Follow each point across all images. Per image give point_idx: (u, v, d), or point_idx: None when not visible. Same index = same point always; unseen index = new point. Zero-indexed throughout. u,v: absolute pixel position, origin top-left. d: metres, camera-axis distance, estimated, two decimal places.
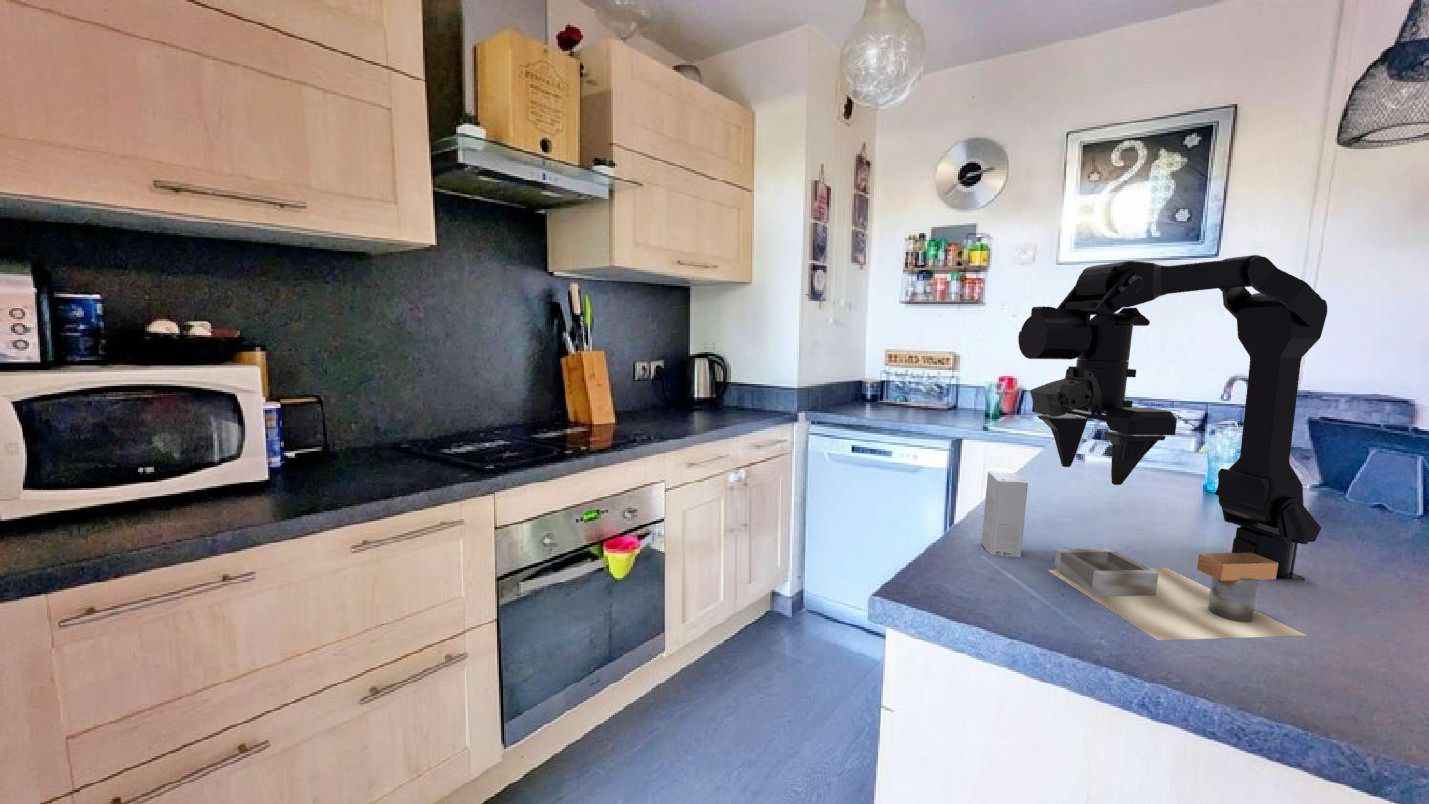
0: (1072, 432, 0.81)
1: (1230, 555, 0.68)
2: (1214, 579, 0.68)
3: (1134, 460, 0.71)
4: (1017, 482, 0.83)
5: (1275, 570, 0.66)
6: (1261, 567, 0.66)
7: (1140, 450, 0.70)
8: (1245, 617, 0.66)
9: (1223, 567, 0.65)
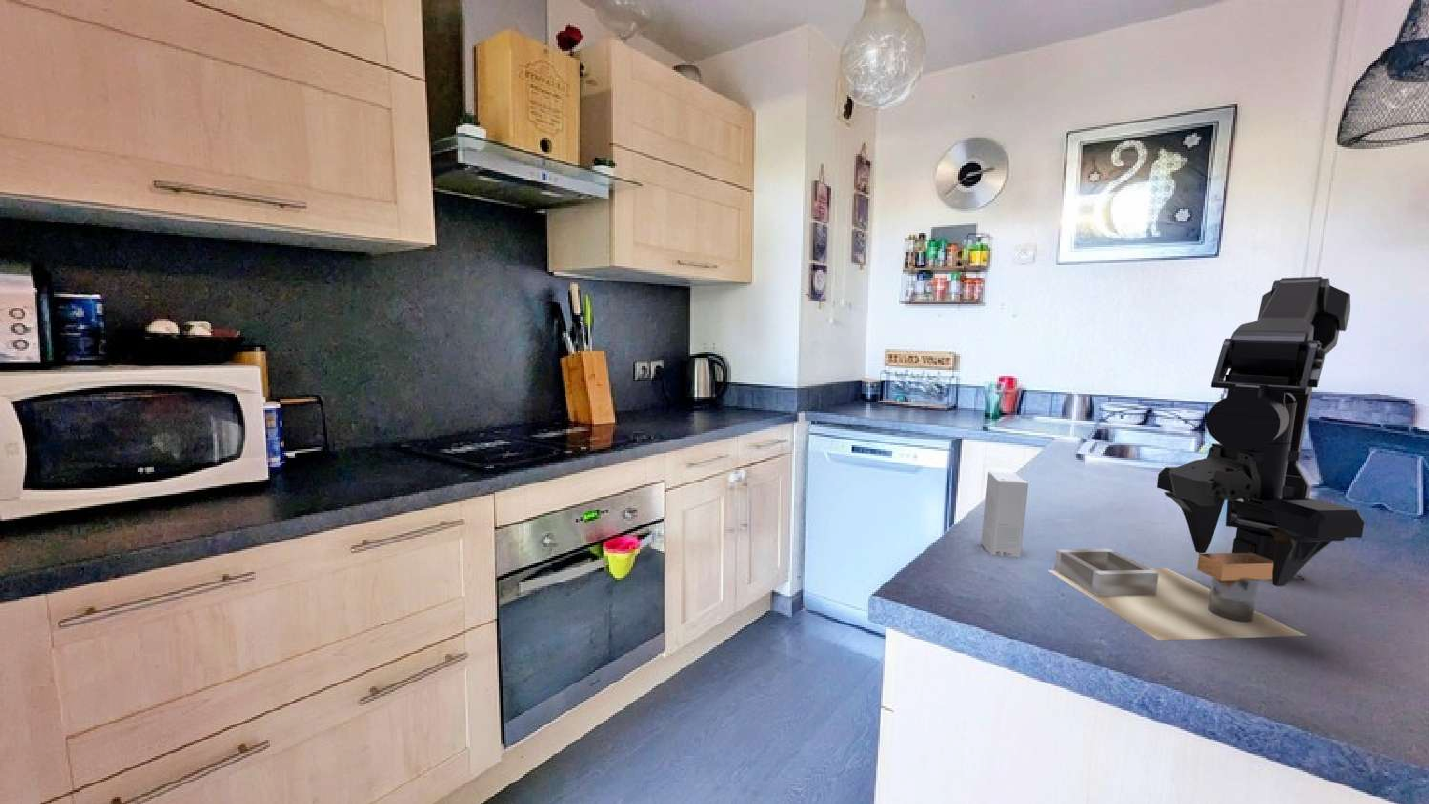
0: (1208, 514, 0.72)
1: (1230, 555, 0.68)
2: (1214, 579, 0.68)
3: (1302, 560, 0.61)
4: (1017, 482, 0.83)
5: None
6: (1261, 567, 0.66)
7: (1311, 549, 0.61)
8: (1245, 617, 0.66)
9: (1223, 567, 0.65)
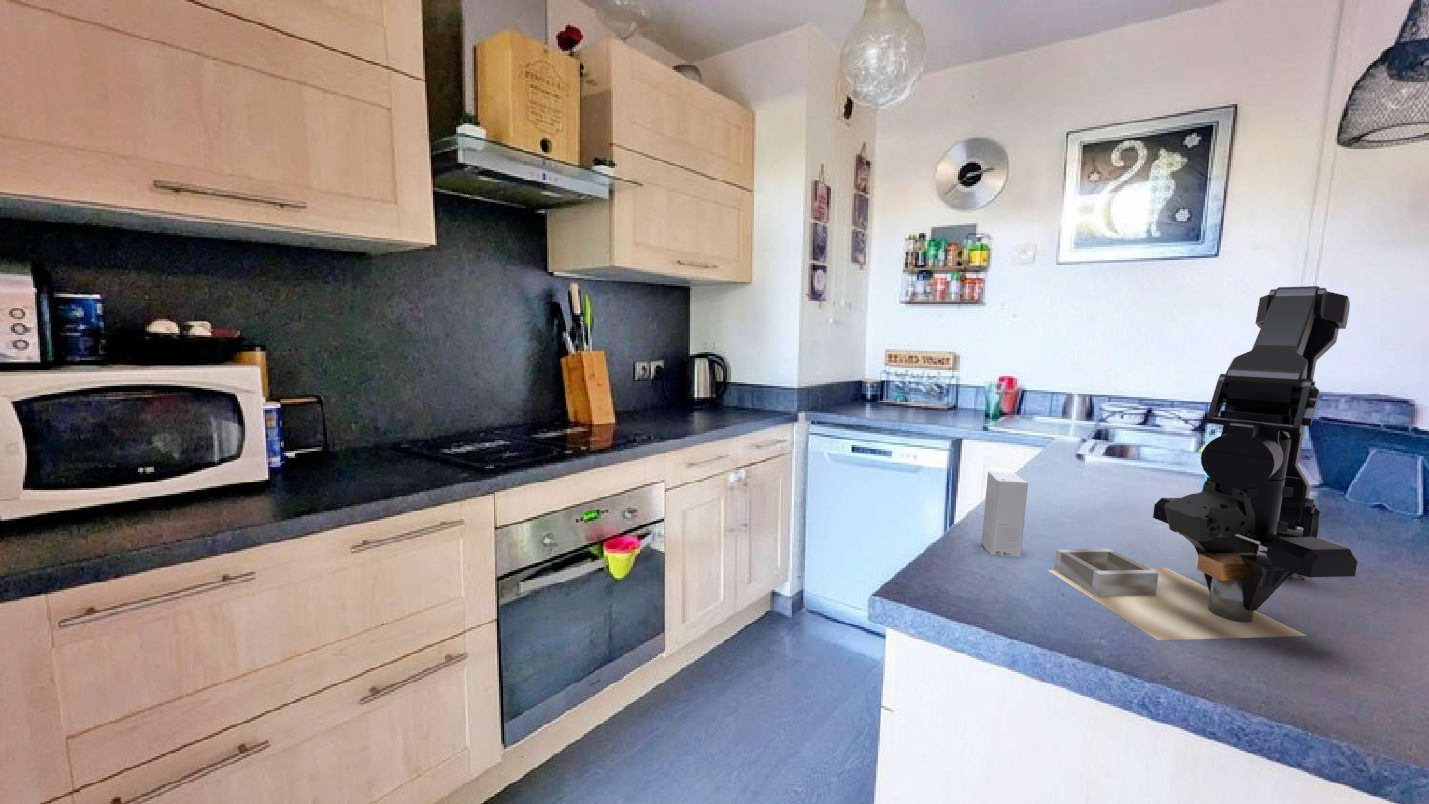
0: None
1: (1230, 555, 0.68)
2: (1214, 579, 0.68)
3: (1273, 587, 0.64)
4: (1017, 482, 0.83)
5: None
6: None
7: (1281, 576, 0.64)
8: (1245, 617, 0.66)
9: (1223, 567, 0.65)
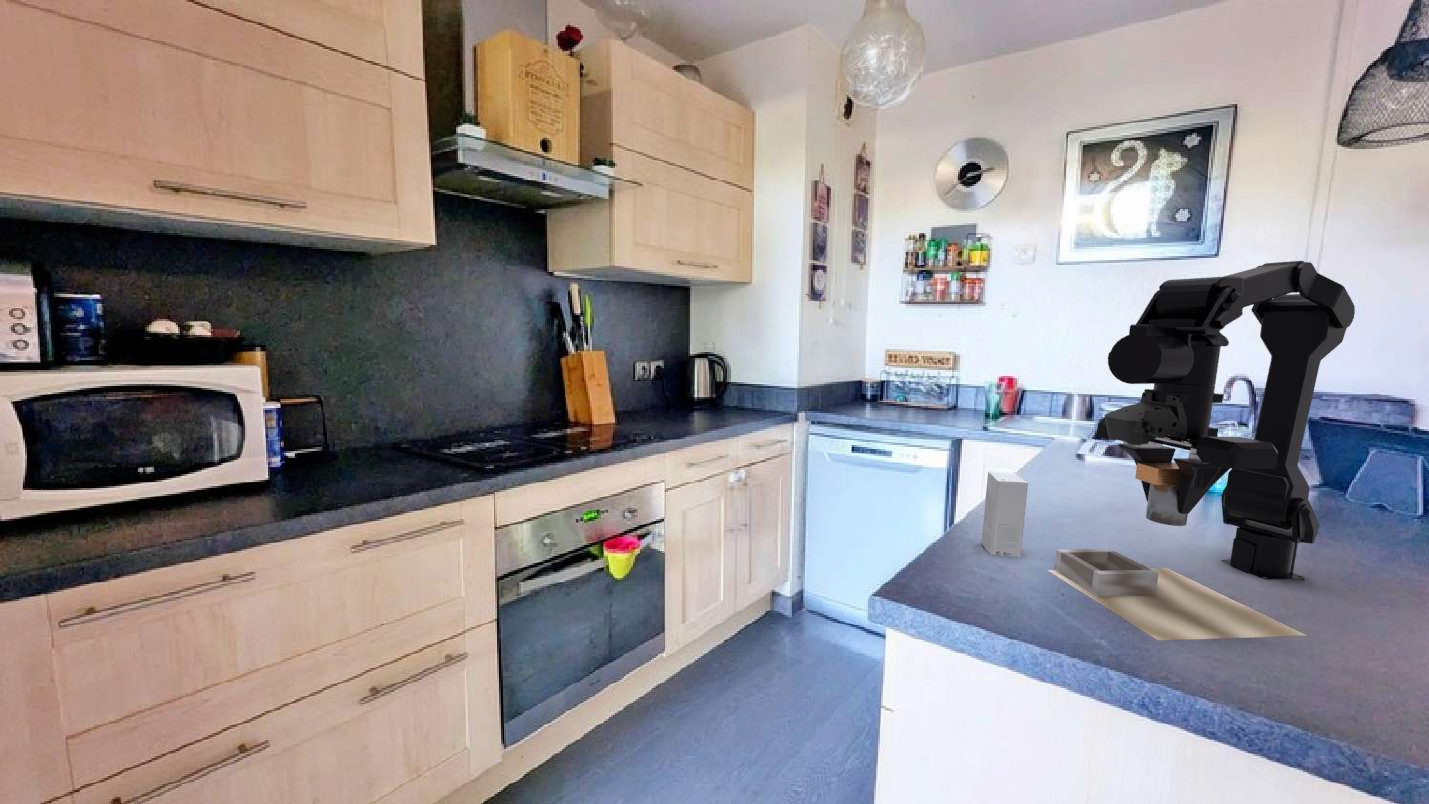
0: None
1: (1166, 464, 0.71)
2: (1151, 487, 0.71)
3: (1203, 489, 0.67)
4: (1017, 482, 0.83)
5: None
6: None
7: (1211, 478, 0.67)
8: (1179, 520, 0.69)
9: (1158, 472, 0.68)
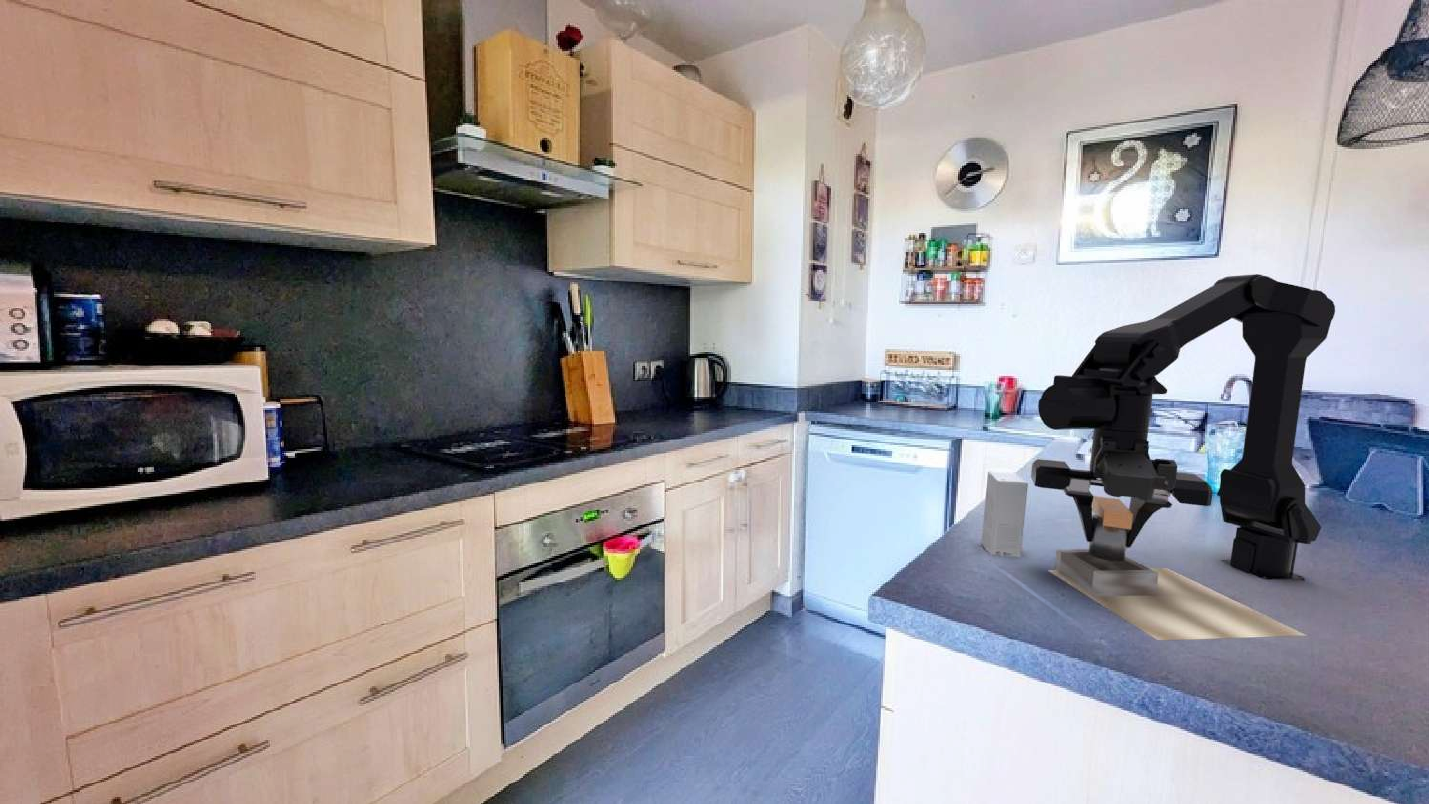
0: None
1: (1104, 503, 0.75)
2: (1106, 529, 0.74)
3: None
4: (1017, 482, 0.83)
5: None
6: None
7: None
8: (1125, 553, 0.74)
9: (1132, 516, 0.71)
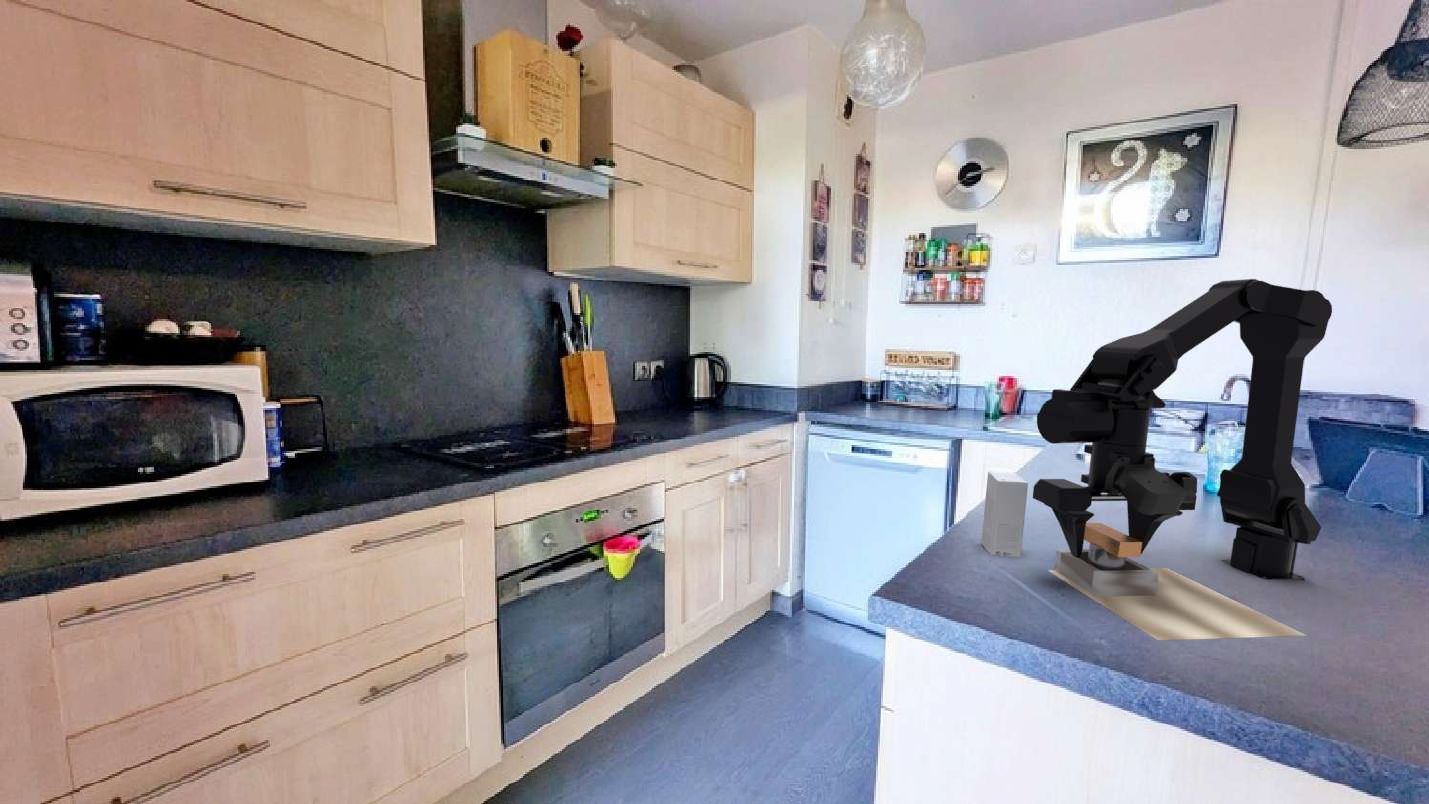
0: None
1: (1103, 532, 0.75)
2: (1112, 558, 0.74)
3: None
4: (1017, 482, 0.83)
5: None
6: None
7: None
8: None
9: None
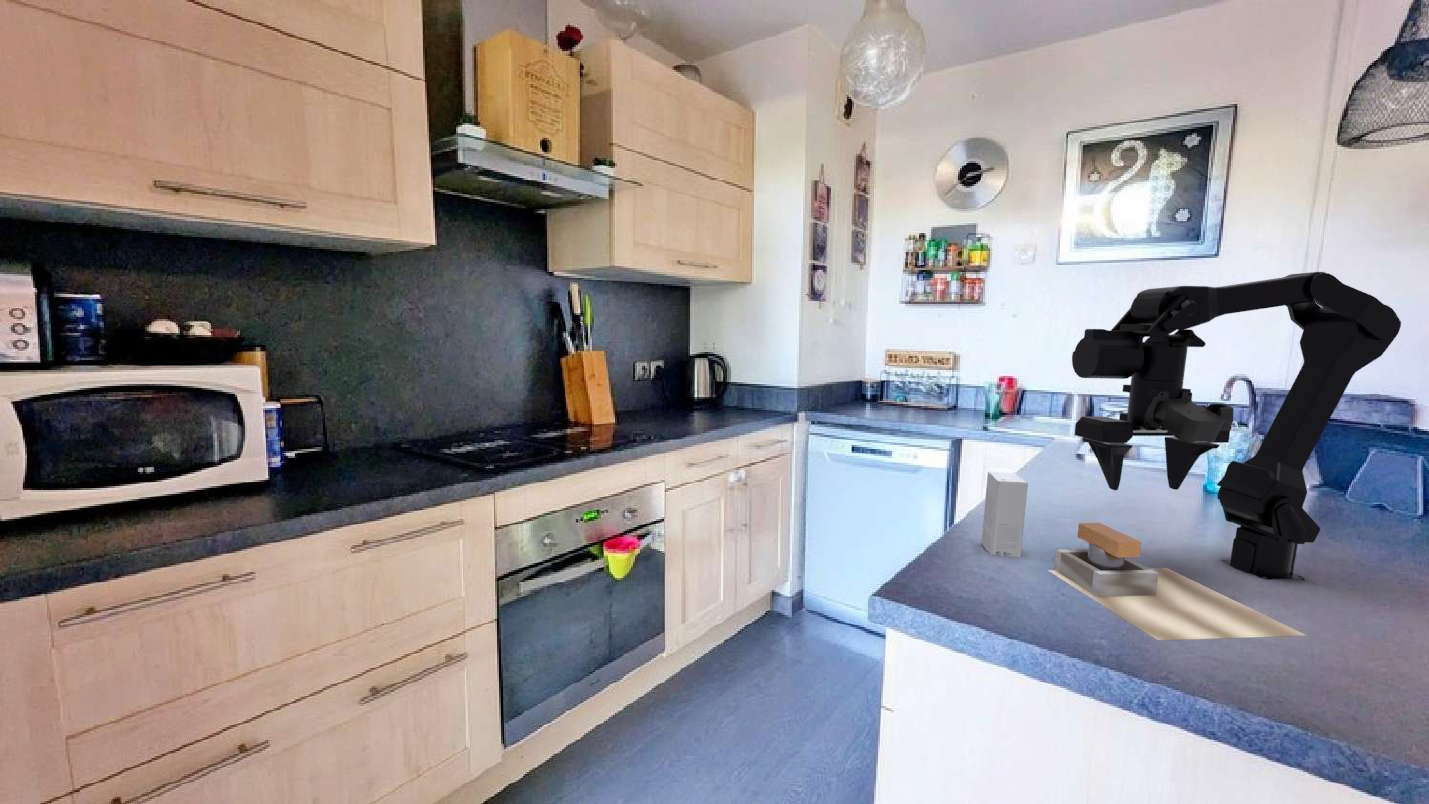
0: None
1: (1102, 532, 0.75)
2: (1111, 559, 0.74)
3: None
4: (1017, 482, 0.83)
5: None
6: None
7: None
8: None
9: None
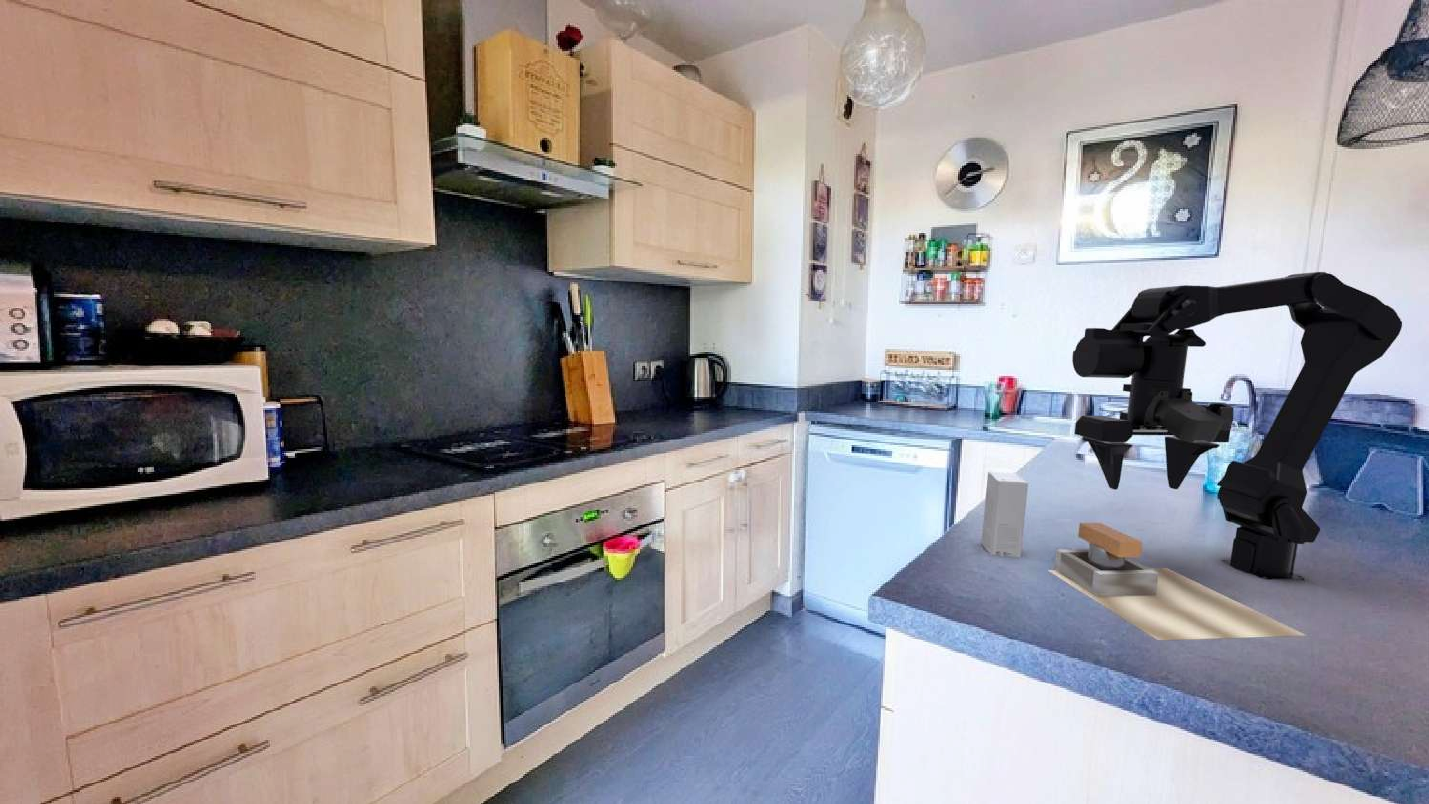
0: None
1: (1103, 532, 0.75)
2: (1112, 559, 0.74)
3: None
4: (1017, 482, 0.83)
5: None
6: None
7: None
8: None
9: None
